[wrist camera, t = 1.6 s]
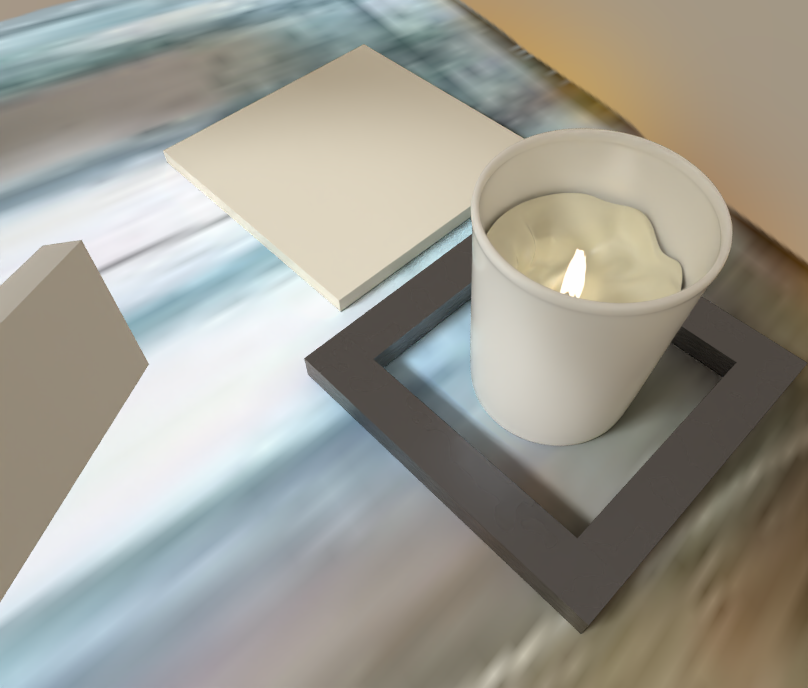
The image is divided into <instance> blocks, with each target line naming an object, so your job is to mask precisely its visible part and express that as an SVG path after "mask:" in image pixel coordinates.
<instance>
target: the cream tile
mask: <svg viewBox="0 0 808 688" xmlns="http://www.w3.org/2000/svg"><path fill="white" fill-rule="evenodd" d="M523 139H524V138H522V137H520V136H519V135H517V134H515V133H513V132H512V131H510V130H508V129H507V128H505V127H503V126H502V125H500V124H498V123H497V122H495V121H493V120H491V119H490V118H488V117H486V116H485V115H483V114H481V113H480V112H478V111H476V110H474V109H473V108H471V107H469V106H468V105H466V104H464V103H463V102H461V101H459V100H458V99H456V98H454V97H452V96H451V95H449V94H447V93H446V92H444V91H442V90H441V89H439V88H437V87H435V86H434V85H432V84H430V83H429V82H427V81H425V80H424V79H422V78H420V77H419V76H417V75H415V74H413V73H412V72H410V71H408V70H407V69H405V68H403V67H402V66H400V65H398V64H396V63H395V62H393V61H391V60H390V59H388V58H386V57H385V56H383V55H381V54H380V53H378V52H376V51H374V50H373V49H371V48H369V47H368V46H366V45H364V44H363V45H361V46H360V47H358V48H356V49H354V50H352V51H350V52H348V53H346V54H344V55H343V56H341V57H339V58H337V59H335V60H333V61H331V62H329V63H327V64H326V65H324V66H322V67H320V68H318V69H316V70H314V71H312V72H311V73H309V74H307V75H305V76H303V77H301V78H299V79H297V80H295V81H294V82H292V83H290V84H288V85H286V86H284V87H282V88H280V89H279V90H277V91H275V92H273V93H271V94H269V95H267V96H265V97H263V98H262V99H260V100H258V101H256V102H254V103H252V104H250V105H248V106H247V107H245V108H243V109H241V110H239V111H237V112H235V113H233V114H231V115H230V116H228V117H226V118H224V119H222V120H220V121H218V122H216V123H214V124H213V125H211V126H209V127H207V128H205V129H203V130H201V131H199V132H198V133H196V134H194V135H192V136H190V137H188V138H186V139H184V140H182V141H181V142H179V143H177V144H175V145H173V146H171V147H169V148H167V149H166V150H164V151H163V152H164V155H165V157H166V160H167V163H168V164H170V165H171V166H172V167H173V168H174V169H175V170H177V171H178V172H179V173H180V174H181V175H182V176H184V177H185V178H186V179H187V180H188V181H189V182H191V183H192V184H193V185H194V186H195V187H196V188H198V189H199V190H200V191H201V192H202V193H203V194H204V195H206V196H207V197H208V198H209V199H210V200H211V201H213V202H214V203H215V204H216V205H217V206H218V207H220V208H221V209H222V210H223V211H224V212H225V213H227V214H228V215H229V216H230V217H231V218H232V219H234V220H235V221H236V222H237V223H238V224H239V225H241V226H242V227H243V228H244V229H245V230H246V231H247V232H249V233H250V234H251V235H252V236H253V237H254V238H256V239H257V240H258V241H259V242H260V243H261V244H263V245H264V246H265V247H266V248H267V249H268V250H270V251H271V252H272V253H273V254H274V255H275V256H277V257H278V258H279V259H280V260H281V261H282V262H284V263H285V264H286V265H287V266H288V267H289V268H290V269H292V270H293V271H294V272H295V273H296V274H297V275H299V276H300V277H301V278H302V279H303V280H304V281H306V282H307V283H308V284H309V285H310V286H311V287H313V288H314V289H315V290H316V291H317V292H318V293H320V294H321V295H322V296H323V297H324V298H325V299H327V300H328V301H329V302H330V303H331V304H332V305H333V306H335V307H336V308H337V309H338V310H339V311H340V312H341V311H342V310H343V309H345V308H346V307H348V306H349V305H350V304H352V303H353V302H354V301H356V300H357V299H359V298H360V297H361V296H363V295H364V294H365V293H367V292H368V291H370V290H371V289H372V288H374V287H375V286H376V285H378V284H379V283H381V282H382V281H383V280H385V279H386V278H387V277H389V276H390V275H392V274H393V273H394V272H396V271H397V270H398V269H400V268H401V267H403V266H404V265H405V264H407V263H408V262H409V261H411V260H412V259H414V258H415V257H416V256H418V255H419V254H420V253H422V252H423V251H425V250H426V249H427V248H429V247H430V246H431V245H433V244H434V243H436V242H437V241H438V240H440V239H441V238H442V237H444V236H445V235H447V234H448V233H449V232H451V231H452V230H453V229H455V228H456V227H458V226H459V225H460V224H462V223H463V222H464V221H466V220H467V219H469V218H470V217H471V199H472V194H473V190H474V187H475V184H476V182H477V180H478V178H479V176H480V174H481V173H482V171H483V170H484V168H485V167H486V166H487V165H488V163H489V162H490V161H491V160H492V159H493V158H494V157H495V156H497V155H498V154H499V153H500V152H502V151H503V150H505V149H506V148H508V147H509V146H511V145H513V144H515V143H517V142H519V141H521V140H523Z"/></svg>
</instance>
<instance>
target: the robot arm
mask: <svg viewBox="0 0 808 688" xmlns="http://www.w3.org/2000/svg"><path fill="white" fill-rule="evenodd" d="M148 365H149V364H148V362H147V360H146V358H145V356H144V354H143V353H142V351H141V349H140V347H139V345H138V343H137V341H136V340H135V338H134V336H133V334H132V332H131V330H130V329H129V327H128V325H127V323H126V321H125V319H124V318H123V316H122V314H121V312H120V310H119V308H118V306H117V305H116V303H115V301H114V299H113V297H112V295H111V294H110V292H109V290H108V288H107V286H106V284H105V283H104V281H103V279H102V277H101V275H100V273H99V272H98V270H97V268H96V266H95V264H94V262H93V260H92V259H91V257H90V255H89V253H88V251H87V249H86V248H85V246H84V244H83V242H82V240H79V241H72V242H65V243H59V244H52V245H45V246H42V247H41V248H40V249H39V250H38V251H37V252H36V253H34V254H33V255H32V256H31V257H30V258H29V259H28V260H27V261H26V262H25V263H24V264H23V265H22V266H21V267H20V268H19V269H18V270H17V271H16V272H15V273H13V274H12V275H11V276H10V277H9V278H8V279H7V280H6V281H5V282H4V283H3V284H2V285H1V286H0V602H1V600H2V598H3V597H4V595H5V594H6V592H7V590H8V589H9V587H10V586H11V584H12V582H13V581H14V579H15V578H16V576H17V574H18V573H19V571H20V570H21V568H22V566H23V565H24V563H25V562H26V560H27V558H28V557H29V555H30V554H31V552H32V550H33V549H34V547H35V546H36V544H37V542H38V541H39V539H40V538H41V536H42V534H43V533H44V531H45V530H46V528H47V526H48V525H49V523H50V522H51V520H52V518H53V517H54V515H55V514H56V512H57V510H58V509H59V507H60V506H61V504H62V502H63V501H64V499H65V498H66V496H67V494H68V493H69V491H70V490H71V488H72V486H73V485H74V483H75V482H76V480H77V478H78V477H79V475H80V474H81V472H82V470H83V469H84V467H85V466H86V464H87V462H88V461H89V459H90V458H91V456H92V454H93V453H94V451H95V450H96V448H97V446H98V445H99V443H100V442H101V440H102V438H103V437H104V435H105V434H106V432H107V430H108V429H109V427H110V426H111V424H112V422H113V421H114V419H115V418H116V416H117V414H118V413H119V411H120V410H121V408H122V406H123V405H124V403H125V402H126V400H127V398H128V397H129V395H130V394H131V392H132V390H133V389H134V387H135V386H136V384H137V382H138V381H139V379H140V378H141V376H142V374H143V373H144V371H145V370H146V368H147V366H148Z"/></svg>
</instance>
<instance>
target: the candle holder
mask: <svg viewBox="0 0 808 688" xmlns="http://www.w3.org/2000/svg"><path fill="white" fill-rule="evenodd" d="M471 220H472V272H471V323H470V371H471V380H472V384H473V388H474V391H475V394H476V396H477V398H478V400H479V402H480V404H481V405H482V407H483V408H484V410H485V411H486V412H487V413H488V415H489V416H490V417H491V418H492V419H493V420H494V421H495V422H496V423H498V424H499V425H500V426H501V427H503V428H504V429H505V430H507V431H509V432H510V433H512V434H514V435H516V436H518V437H520V438H522V439H525V440H528V441H531V442H534V443H538V444H543V445H551V446H567V445H575V444H580V443H583V442H587V441H589V440H592V439H594V438H596V437H598V436H600V435H602V434H603V433H605V432H606V431H608V430H609V429H610V428H611V427H612V426H614V425H615V424H616V423H617V421H618V420H619V419H620V418H621V417H622V415H623V414H624V413H625V411H626V410H627V409H628V407H629V406H630V404H631V403H632V401H633V400H634V398H635V397H636V395H637V394H638V392H639V391H640V389H641V388H642V386H643V385H644V383H645V382H646V380H647V379H648V377H649V376H650V374H651V373H652V371H653V370H654V368H655V367H656V365H657V363H658V362H659V360H660V359H661V357H662V356H663V354H664V353H665V351H666V350H667V348H668V347H669V345H670V344H671V342H672V341H673V339H674V338H675V336H676V334H677V333H678V331H679V330H680V328H681V327H682V325H683V324H684V322H685V321H686V319H687V318H688V316H689V315H690V313H691V312H692V310H693V308H694V307H695V305H696V304H697V302H698V301H699V299H700V298H701V296H702V295H703V293H704V292H705V290H706V289H707V287H708V286H709V285H710V284H711V283H712V281H713V280H714V279H715V278H716V277H717V276H718V274H719V273H720V271H721V270H722V268H723V266H724V265H725V263H726V261H727V258H728V256H729V253H730V249H731V245H732V237H733V229H732V221H731V217H730V213H729V210H728V207H727V205H726V203H725V201H724V199H723V197H722V195H721V194H720V192H719V191H718V189H717V188H716V187H715V185H714V184H713V183H712V182H711V181H710V179H709V178H708V177H707V176H706V175H705V174H704V173H703V172H702V171H701V170H699V169H698V168H697V167H696V166H695V165H693V164H692V163H691V162H689V161H688V160H686V159H685V158H684V157H682V156H680V155H679V154H677V153H675V152H674V151H672V150H670V149H668V148H666V147H664V146H662V145H660V144H657V143H655V142H652V141H650V140H647V139H644V138H641V137H638V136H634V135H631V134H627V133H622V132H617V131H611V130H603V129H590V128H575V129H562V130H555V131H550V132H545V133H541V134H537V135H534V136H531V137H528V138H526V139H523V140H521V141H519V142H517V143H515V144H513V145H511V146H509V147H508V148H506V149H505V150H503V151H502V152H500V153H499V154H498V155H497V156H495V157H494V158H493V159H492V160H491V161H490V162H489V163H488V165H487V166H486V167H485V168H484V170H483V171H482V173H481V174H480V176H479V178H478V180H477V182H476V184H475V187H474V190H473V194H472V199H471Z"/></svg>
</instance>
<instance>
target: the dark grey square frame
mask: <svg viewBox="0 0 808 688" xmlns="http://www.w3.org/2000/svg"><path fill="white" fill-rule="evenodd" d="M471 272H472V234H471V235H470V236H469V237H467V238H466V239H464V240H463V241H462V242H460V243H459V244H458V245H456V246H455V247H454V248H452V249H451V250H450V251H448V252H447V253H446V254H444V255H443V256H442V257H440V258H439V259H438V260H436V261H435V262H434V263H432V264H431V265H429V266H428V267H427V268H425V269H424V270H423V271H421V272H420V273H419V274H417V275H416V276H415V277H413V278H412V279H411V280H409V281H408V282H407V283H405V284H404V285H403V286H401V287H400V288H399V289H397V290H396V291H394V292H393V293H392V294H390V295H389V296H388V297H386V298H385V299H384V300H382V301H381V302H380V303H378V304H377V305H376V306H374V307H373V308H372V309H370V310H369V311H368V312H366V313H365V314H364V315H362V316H361V317H360V318H358V319H357V320H355V321H354V322H353V323H351V324H350V325H349V326H347V327H346V328H345V329H343V330H342V331H341V332H339V333H338V334H337V335H335V336H334V337H333V338H331V339H330V340H329V341H327V342H326V343H325V344H323V345H322V346H320V347H319V348H318V349H316V350H315V351H314V352H312V353H311V354H310V355H308V356H307V357H306V358H304V359H305V363H306V368H307V372H308V375H309V376H310V377H311V378H312V379H313V380H315V381H316V382H317V383H318V384H319V385H320V386H321V387H322V388H323V389H324V390H325V391H326V392H327V393H328V394H329V395H330V396H331V397H332V398H333V399H334V400H336V401H337V402H338V403H339V404H340V405H341V406H342V407H343V408H344V409H345V410H346V411H347V412H348V413H349V414H350V415H351V416H352V417H353V418H354V419H356V420H357V421H358V422H359V423H360V424H361V425H362V426H363V427H364V428H365V429H366V430H367V431H368V432H369V433H370V434H371V435H372V436H373V437H374V438H376V439H377V440H378V441H379V442H380V443H381V444H382V445H383V446H384V447H385V448H386V449H387V450H388V451H389V452H390V453H391V454H392V455H393V456H394V457H396V458H397V459H398V460H399V461H400V462H401V463H402V464H403V465H404V466H405V467H406V468H407V469H408V470H409V471H410V472H411V473H412V474H413V475H414V476H415V477H417V478H418V479H419V480H420V481H421V482H422V483H423V484H424V485H425V486H426V487H427V488H428V489H429V490H430V491H431V492H432V493H433V494H434V495H435V496H437V497H438V498H439V499H440V500H441V501H442V502H443V503H444V504H445V505H446V506H447V507H448V508H449V509H450V510H451V511H452V512H453V513H454V514H455V515H457V516H458V517H459V518H460V519H461V520H462V521H463V522H464V523H465V524H466V525H467V526H468V527H469V528H470V529H471V530H472V531H473V532H474V533H475V534H477V535H478V536H479V537H480V538H481V539H482V540H483V541H484V542H485V543H486V544H487V545H488V546H489V547H490V548H491V549H492V550H493V551H494V552H495V553H496V554H498V555H499V556H500V557H501V558H502V559H503V560H504V561H505V562H506V563H507V564H508V565H509V566H510V567H511V568H512V569H513V570H514V571H515V572H516V573H518V574H519V575H520V576H521V577H522V578H523V579H524V580H525V581H526V582H527V583H528V584H529V585H530V586H531V587H532V588H533V589H534V590H535V591H536V592H538V593H539V594H540V595H541V596H542V597H543V598H544V599H545V600H546V601H547V602H548V603H549V604H550V605H551V606H552V607H553V608H554V609H555V610H556V611H558V612H559V613H560V614H561V615H562V616H563V617H564V618H565V619H566V620H567V621H568V622H569V623H570V624H571V625H572V626H573V627H574V628H575V629H576V630H577V631H579V632H580V633H581V634H582V632H583V631H584V630H585V629H586V628H587V627H588V626H589V624H590V623H591V622H592V621H593V620H594V618H595V617H596V616H597V615H598V614H599V612H600V611H601V610H602V609H603V608H604V606H605V605H606V604H607V603H608V602H609V600H610V599H611V598H612V597H613V596H614V594H615V593H616V592H617V591H618V590H619V588H620V587H621V586H622V585H623V584H624V582H625V581H626V580H627V579H628V578H629V576H630V575H631V574H632V573H633V572H634V571H635V569H636V568H637V567H638V566H639V565H640V563H641V562H642V561H643V560H644V559H645V557H646V556H647V555H648V554H649V553H650V551H651V550H652V549H653V548H654V547H655V545H656V544H657V543H658V542H659V541H660V539H661V538H662V537H663V536H664V535H665V533H666V532H667V531H668V530H669V529H670V527H671V526H672V525H673V524H674V523H675V521H676V520H677V519H678V518H679V517H680V515H681V514H682V513H683V512H684V511H685V509H686V508H687V507H688V506H689V505H690V503H691V502H692V501H693V500H694V499H695V497H696V496H697V495H698V494H699V493H700V491H701V490H702V489H703V488H704V487H705V485H706V484H707V483H708V482H709V481H710V479H711V478H712V477H713V476H714V475H715V473H716V472H717V471H718V470H719V469H720V467H721V466H722V465H723V464H724V463H725V461H726V460H727V459H728V458H729V457H730V455H731V454H732V453H733V452H734V451H735V449H736V448H737V447H738V446H739V445H740V443H741V442H742V441H743V440H744V439H745V437H746V436H747V435H748V434H749V433H750V431H751V430H752V429H753V428H754V427H755V425H756V424H757V423H758V422H759V421H760V419H761V418H762V417H763V416H764V415H765V413H766V412H767V411H768V410H769V409H770V407H771V406H772V405H773V404H774V403H775V401H776V400H777V399H778V398H779V397H780V395H781V394H782V393H783V392H784V391H785V389H786V388H787V387H788V386H789V385H790V383H791V382H792V381H793V380H794V379H795V378H796V376H797V375H798V374H799V373H800V372H801V370H802V369H803V368H804V367H805V366H806V364H807V362H805V361H803V360H802V359H800V358H799V357H797V356H795V355H794V354H792V353H791V352H789V351H787V350H786V349H784V348H783V347H781V346H780V345H778V344H776V343H775V342H773V341H772V340H770V339H768V338H767V337H765V336H764V335H762V334H760V333H759V332H757V331H756V330H754V329H752V328H751V327H749V326H748V325H746V324H744V323H743V322H741V321H740V320H738V319H736V318H735V317H733V316H732V315H730V314H729V313H727V312H725V311H724V310H722V309H721V308H719V307H717V306H716V305H714V304H713V303H711V302H709V301H708V300H706V299H705V298H703V297H701V298H700V299H699V301H698V302H697V304H696V305H695V307H694V308H693V310H692V312H691V313H690V315H689V316H688V318H687V319H686V321H685V322H684V324H683V325H682V327H681V328H680V330H679V331H678V333H677V334H676V336H675V338H674V339H673V341H672V343H674V344H675V345H677V346H678V347H680V348H681V349H683V350H684V351H686V352H687V353H689V354H690V355H692V356H693V357H695V358H696V359H697V360H699V361H700V362H702V363H703V364H705V365H706V366H708V367H709V368H711V369H712V370H714V371H715V372H717V373H718V374H720V375H721V376H723V378H722V379H721V380H720V381H719V382H718V384H717V385H716V386H715V387H714V388H713V389H712V390H711V391H710V392H709V394H708V395H707V396H706V397H705V398H704V399H703V400H702V401H701V402H700V403H699V405H698V406H697V407H696V408H695V409H694V410H693V411H692V412H691V413H690V415H689V416H688V417H687V418H686V419H685V420H684V421H683V422H682V423H681V424H680V426H679V427H678V428H677V429H676V430H675V431H674V432H673V433H672V434H671V435H670V437H669V438H668V439H667V440H666V441H665V442H664V443H663V444H662V445H661V447H660V448H659V449H658V450H657V451H656V452H655V453H654V454H653V455H652V456H651V458H650V459H649V460H648V461H647V462H646V463H645V464H644V465H643V466H642V467H641V469H640V470H639V471H638V472H637V473H636V474H635V475H634V476H633V477H632V479H631V480H630V481H629V482H628V483H627V484H626V485H625V486H624V487H623V488H622V490H621V491H620V492H619V493H618V494H617V495H616V496H615V497H614V498H613V499H612V501H611V502H610V503H609V504H608V505H607V506H606V507H605V508H604V509H603V511H602V512H601V513H600V514H599V515H598V516H597V517H596V518H595V519H594V520H593V522H592V523H591V524H590V525H589V526H588V527H587V528H586V529H585V530H584V532H583V533H582V534H581V535H580V536H579V537H578V538H576V537H575V536H574V535H573V534H572V533H571V532H569V531H568V530H567V529H566V528H565V527H564V526H563V525H561V524H560V523H559V522H558V521H557V520H556V519H555V518H554V517H552V516H551V515H550V514H549V513H548V512H547V511H546V510H544V509H543V508H542V507H541V506H540V505H539V504H538V503H536V502H535V501H534V500H533V499H532V498H531V497H530V496H528V495H527V494H526V493H525V492H524V491H523V490H522V489H521V488H519V487H518V486H517V485H516V484H515V483H514V482H513V481H511V480H510V479H509V478H508V477H507V476H506V475H505V474H503V473H502V472H501V471H500V470H499V469H498V468H497V467H495V466H494V465H493V464H492V463H491V462H490V461H489V460H488V459H486V458H485V457H484V456H483V455H482V454H481V453H480V452H478V451H477V450H476V449H475V448H474V447H473V446H472V445H470V444H469V443H468V442H467V441H466V440H465V439H464V438H462V437H461V436H460V435H459V434H458V433H457V432H456V431H454V430H453V429H452V428H451V427H450V426H449V425H448V424H447V423H445V422H444V421H443V420H442V419H441V418H440V417H439V416H437V415H436V414H435V413H434V412H433V411H432V410H431V409H429V408H428V407H427V406H426V405H425V404H424V403H423V402H421V401H420V400H419V399H418V398H417V397H416V396H415V395H414V394H412V393H411V392H410V391H409V390H408V389H407V388H406V387H404V386H403V385H402V384H401V383H400V382H399V381H398V380H396V379H395V378H394V377H393V376H392V375H391V374H390V373H388V372H387V371H386V370H385V369H384V367H385V366H387V365H388V364H389V363H390V362H392V361H393V360H394V359H395V358H397V357H398V356H399V355H400V354H402V353H403V352H404V351H405V350H407V349H408V348H409V347H410V346H412V345H413V344H414V343H415V342H417V341H418V340H419V339H420V338H422V337H423V336H424V335H425V334H427V333H428V332H429V331H431V330H432V329H433V328H434V327H436V326H437V325H438V324H439V323H441V322H442V321H443V320H444V319H446V318H447V317H448V316H449V315H451V314H452V313H453V312H454V311H456V310H457V309H458V308H459V307H461V306H462V305H463V304H464V303H466V302H467V301H468V300H469V299H471Z"/></svg>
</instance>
